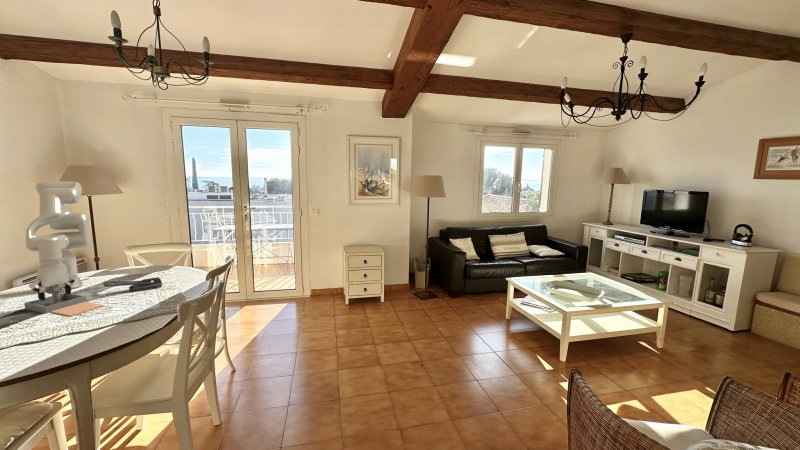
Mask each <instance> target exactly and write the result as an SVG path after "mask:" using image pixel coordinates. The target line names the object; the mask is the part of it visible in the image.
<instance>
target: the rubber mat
mask: <svg viewBox="0 0 800 450" xmlns="http://www.w3.org/2000/svg"><path fill="white" fill-rule="evenodd" d="M104 306H105V305H104V304H99V303H94V302H90V301H88V302H82V303H78V304H75V305H71V306H67V307H64V308H60V309H57V310H53V311H51V312H50V314H51V313H52V314H57V315H62V316H67V317H74V316H77V315H80V314H83V313H88V312H91V311H92V310H93V311H95V310H97V309H100V308H103V307H104Z"/></svg>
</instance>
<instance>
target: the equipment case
mask: <svg viewBox="0 0 800 450" xmlns="http://www.w3.org/2000/svg"><path fill="white" fill-rule="evenodd" d="M59 295H60V296H58V299H59V301H62V300H65V301H62V302H59V303H57V304H54V298H53V297H52V295H50V296H47V297H46V296H45V299H46V300H44V301H43V300H40V299H39V298H38V299H35V300H31V301H26V302H24V303H23V304H24V309H25V310H28V311H34V312H38V313H44V314H49V313H51V311H53V310H57V309H60V308H64V307H67V306H71V305H75V304H78V303H82V302H92V301H94V300H98V299H102V298H104V297H105V298H106V295H105V294H99V293H96V292H95V293H93V292H87V291H83V292H78V293H72V292H71V294H66V293H65V292H64V293H61V294H59ZM51 303H53V304H51ZM48 304H50V305H48ZM46 305H47V306H46Z"/></svg>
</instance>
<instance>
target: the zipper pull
mask: <svg viewBox="0 0 800 450" xmlns="http://www.w3.org/2000/svg"><path fill="white" fill-rule="evenodd" d="M103 286H104V287H106V288H107V287H108V288H109V287H125V286H129V287H128V289H129V290H128V291H129V292H131V293H135V292H136V293H137V292H143V291H149V290H156V289H160V288H162V287H163V282H162V279H161V278H160V277H158V276H156V277H151V278H150V277H149V278H143V279H141V280H119V281H118V280H115V281H114V280H113V281H109V280H108V281H104V283H103Z"/></svg>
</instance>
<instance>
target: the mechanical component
mask: <svg viewBox="0 0 800 450" xmlns="http://www.w3.org/2000/svg"><path fill="white" fill-rule="evenodd" d="M44 292H45V294H48V295H49V294H50V295H51V296H52V297H53V298H54V302H53V304H57V303H60V300H59V299H58V296H60V295H59V294H62V293H65V287H64V286H60V287H59V285H56V286H51V287H46V288H45V290H44Z"/></svg>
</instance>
